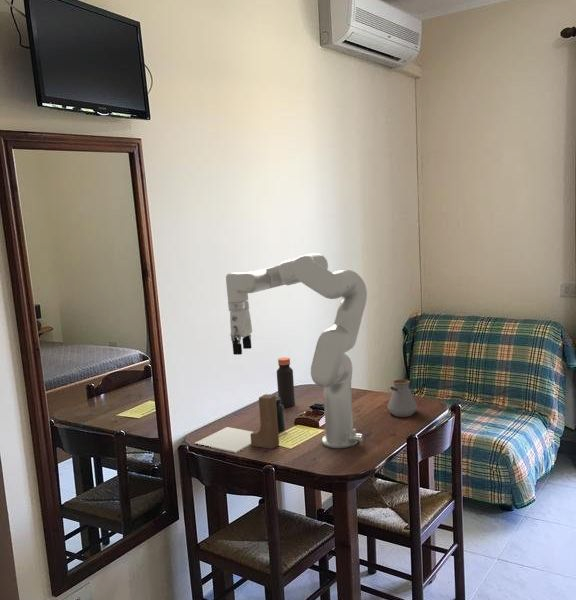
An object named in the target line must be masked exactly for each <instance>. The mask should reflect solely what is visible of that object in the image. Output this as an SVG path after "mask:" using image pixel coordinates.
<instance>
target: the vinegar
mask: <svg viewBox="0 0 576 600" xmlns="http://www.w3.org/2000/svg"><path fill="white" fill-rule="evenodd" d="M290 358H291V357H280V358H278V359H277V363H278V366H279V367H278V368H277V370H276V380H277V384H276V385H277V397H280V398H281V404H282V405H283V406H284V408H291V407H294V406H295V405H296V400H295V399H296V398H295V386H294V385H295V384H294V383H295V382H294V370H293V368H292V367H290V366H291V359H290Z"/></svg>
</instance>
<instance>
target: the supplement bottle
mask: <svg viewBox="0 0 576 600" xmlns="http://www.w3.org/2000/svg"><path fill="white" fill-rule="evenodd" d="M276 407H277V422H278V433H279V432H282V431H284V430H285V429H286V424H285V423H286V422H285V407H284V406H283V405H282V404H281V398H280V397H278V396H276Z"/></svg>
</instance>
